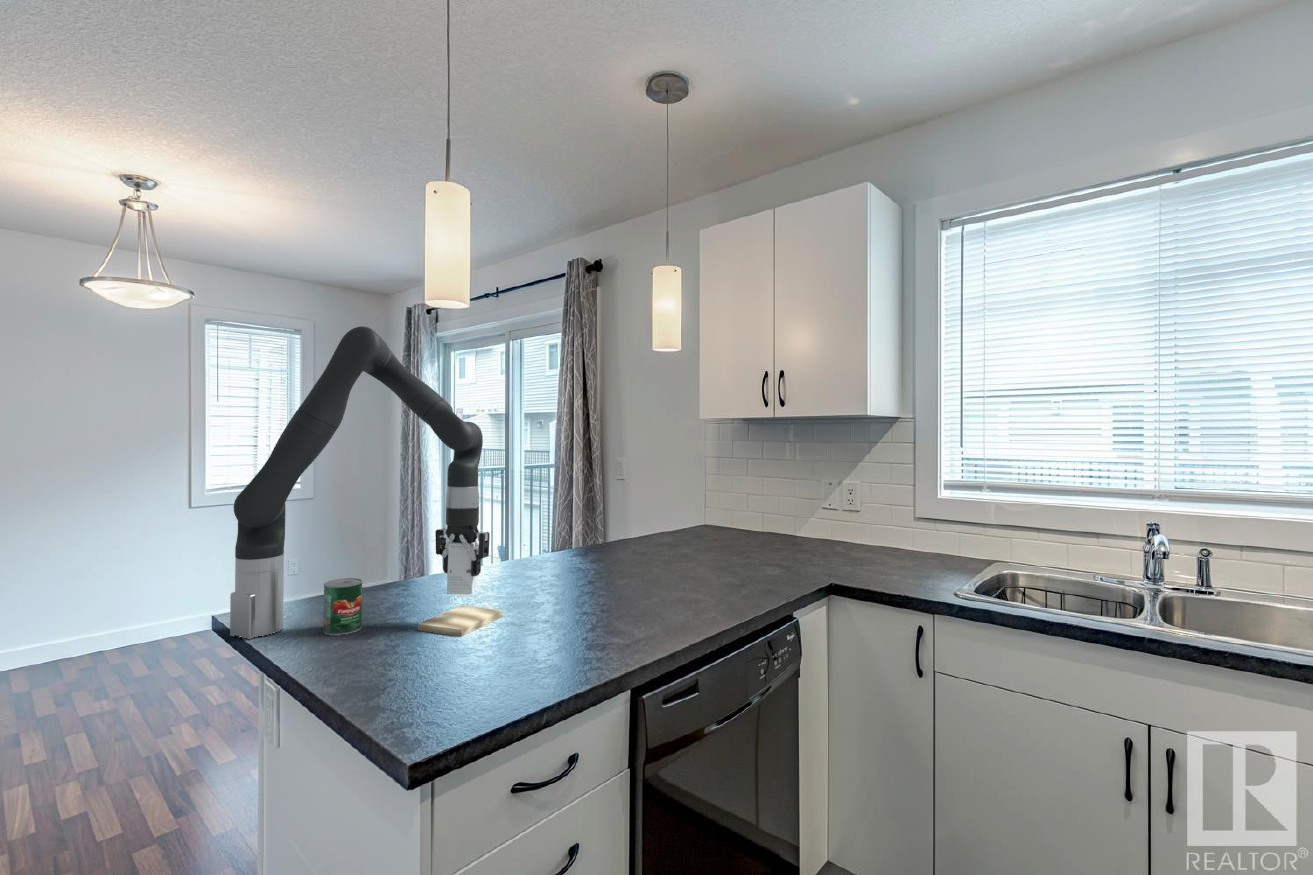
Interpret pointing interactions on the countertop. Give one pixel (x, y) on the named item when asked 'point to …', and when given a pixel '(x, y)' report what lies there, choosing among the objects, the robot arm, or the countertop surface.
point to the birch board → (460, 620)
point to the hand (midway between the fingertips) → (461, 574)
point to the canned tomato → (342, 606)
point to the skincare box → (459, 570)
